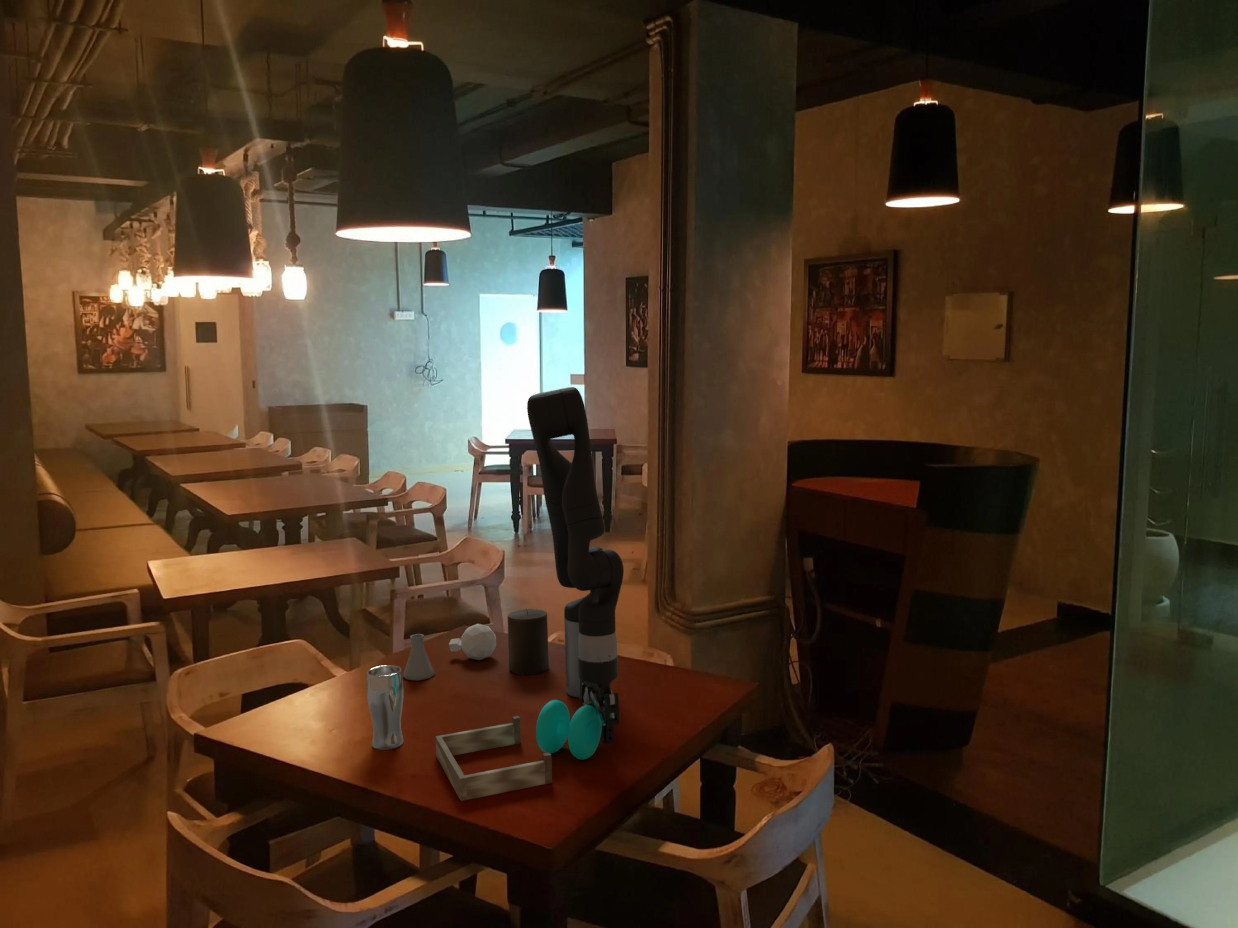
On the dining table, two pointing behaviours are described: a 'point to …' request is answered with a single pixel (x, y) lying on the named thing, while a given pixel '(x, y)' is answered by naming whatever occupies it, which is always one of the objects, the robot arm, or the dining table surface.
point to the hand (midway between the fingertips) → (599, 735)
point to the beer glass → (385, 705)
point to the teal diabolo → (568, 729)
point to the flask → (418, 661)
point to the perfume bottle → (475, 642)
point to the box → (492, 779)
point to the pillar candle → (528, 641)
